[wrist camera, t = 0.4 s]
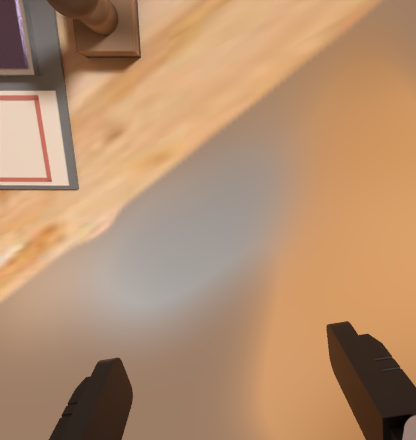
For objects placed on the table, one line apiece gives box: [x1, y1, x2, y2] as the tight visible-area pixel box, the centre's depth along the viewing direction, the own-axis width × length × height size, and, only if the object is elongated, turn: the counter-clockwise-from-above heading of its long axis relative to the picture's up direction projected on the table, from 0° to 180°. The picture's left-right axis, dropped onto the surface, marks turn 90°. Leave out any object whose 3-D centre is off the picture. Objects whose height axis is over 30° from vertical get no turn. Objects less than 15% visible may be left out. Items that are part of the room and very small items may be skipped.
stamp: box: [47, 0, 141, 58], centre depth 26 cm, size 6×6×12 cm
